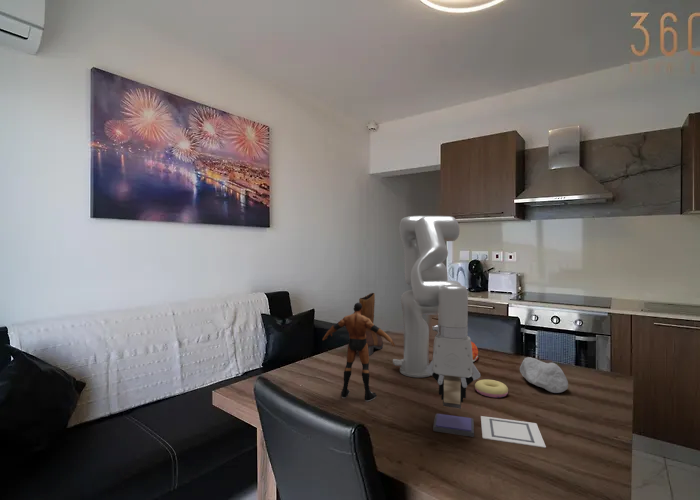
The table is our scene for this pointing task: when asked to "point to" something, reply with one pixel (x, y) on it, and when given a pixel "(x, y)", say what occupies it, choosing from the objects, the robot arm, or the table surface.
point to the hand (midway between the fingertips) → (452, 398)
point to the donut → (491, 388)
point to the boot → (368, 311)
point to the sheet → (511, 431)
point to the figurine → (357, 346)
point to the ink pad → (454, 425)
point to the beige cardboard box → (452, 392)
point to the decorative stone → (544, 375)
